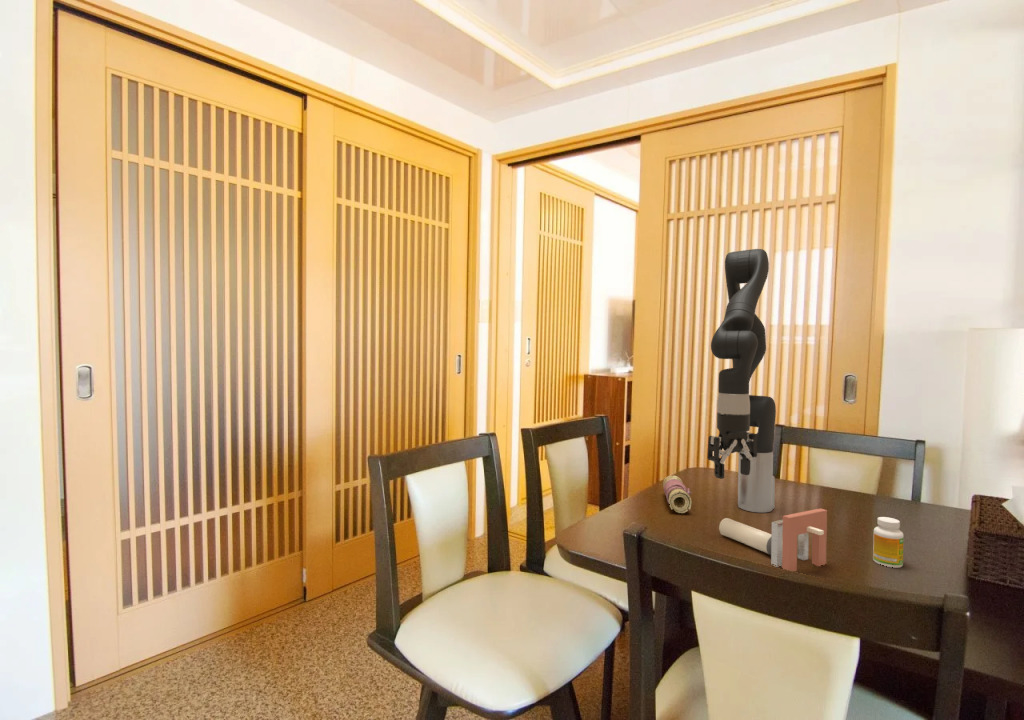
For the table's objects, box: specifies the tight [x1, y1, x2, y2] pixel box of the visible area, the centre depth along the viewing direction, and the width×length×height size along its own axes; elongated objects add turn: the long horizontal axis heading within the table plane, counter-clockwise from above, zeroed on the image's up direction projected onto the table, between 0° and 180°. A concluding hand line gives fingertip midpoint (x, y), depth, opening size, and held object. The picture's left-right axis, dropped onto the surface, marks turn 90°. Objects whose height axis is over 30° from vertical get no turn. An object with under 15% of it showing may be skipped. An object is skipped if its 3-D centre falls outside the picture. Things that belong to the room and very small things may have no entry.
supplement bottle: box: [872, 516, 905, 569], centre depth 115 cm, size 5×5×10 cm
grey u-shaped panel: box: [770, 519, 810, 568], centre depth 116 cm, size 10×2×10 cm, turn 115°
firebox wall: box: [781, 507, 828, 571], centre depth 111 cm, size 12×4×12 cm, turn 115°
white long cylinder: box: [718, 517, 783, 556], centre depth 125 cm, size 16×5×5 cm, turn 25°
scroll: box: [662, 475, 692, 514], centre depth 157 cm, size 8×8×20 cm
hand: (732, 476), depth 130 cm, fingers open, 8 cm apart
